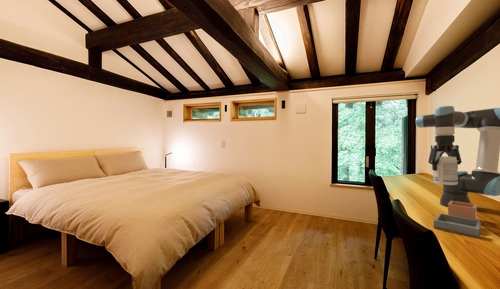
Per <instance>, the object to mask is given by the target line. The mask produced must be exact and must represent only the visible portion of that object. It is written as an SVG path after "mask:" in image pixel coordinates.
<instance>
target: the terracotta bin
mask: <svg viewBox="0 0 500 289" xmlns="http://www.w3.org/2000/svg"><path fill="white" fill-rule="evenodd" d="M477 206H478V205H477V204H475V203H472V202H471V203H464V202H457V201H450V202H449V203H448V207H447V212H448V213H447V215H452V216H457V217H463V218H468V219H474V220H478V211H477V210H478V207H477Z"/></svg>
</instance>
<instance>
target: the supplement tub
mask: <svg viewBox="0 0 500 289" xmlns="http://www.w3.org/2000/svg"><path fill="white" fill-rule="evenodd" d="M437 165H439V177H435V176H433V175H432V178H433V179H432V180H433V183H434V184H438V185H442V186H443V185H457V184H458V173H457V171H458V170H457V158H456V157H448V155H447V156H445V155H444V156H443V155H442V156H441V157H439V162H438V164H437Z"/></svg>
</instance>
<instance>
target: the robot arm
mask: <svg viewBox="0 0 500 289" xmlns="http://www.w3.org/2000/svg"><path fill="white" fill-rule="evenodd" d="M415 126H416V127H417V128H423V129H424V128H434V130H435V131H434V134H435V137H434V138H435V139H434V141H435V143H436V144H434V145H433V144H432V145H430V152H429V157H428V163H429V164H430V165H432V166H431V170H432V177H433V176H435V177H439V165H437V164H438V162H439V157H441V156H443V155H444V154H447V156H448V157H456V158H457V173H458V184H457V185H443V184H442V191H443V192H442V195H441V198H440V200H439V204H440V205H441V206H443V205H444V207H447V208H448V203H449V202H450V201H457V202H464V203H471V204H472V202H471V199H470V197H469V193H471V194H478V195H484V196H490V197H498V196H500V172H499V171H498V169H499V161H500V107H494V108H493V107H492V108H486V109H477V110H469V111H456V110H455V107H454V106H453V105H444V106H439V107H435V110H434V113H433V114H426V115H425V114H423V115H419V116H417V117H416V118H415ZM455 128H457V129H458V128H460V129H461V128H462V129H463V128H464V129H476V130H477V131H478V132H479V140H478V148H477V149H478V150H477V156H476V164H475V169H473V170H472V171H471V173H468V171H465V170H459V168H458V167H459V166H460V165H461V164H462V159H461V158H462V157H461V154H460V150H459V148H460V145H458V144H456V145H455V144H454V143H455ZM458 165H459V166H458Z"/></svg>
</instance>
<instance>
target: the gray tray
mask: <svg viewBox="0 0 500 289" xmlns="http://www.w3.org/2000/svg"><path fill="white" fill-rule="evenodd" d="M481 223H482V222H481V220H478V219H477V220H474V219H468V218H463V217H457V216H452V215H448V214H446V213H440V212H438V213H437V215H436V216H435V218H434V219H433V229H436V230H441V231H445V232H449V233H455V234H458V233H459V235H462V234H464V235H463V236H466V237H472V238H475V239H480V235H481V234H480V233H481V226H482V224H481Z"/></svg>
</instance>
